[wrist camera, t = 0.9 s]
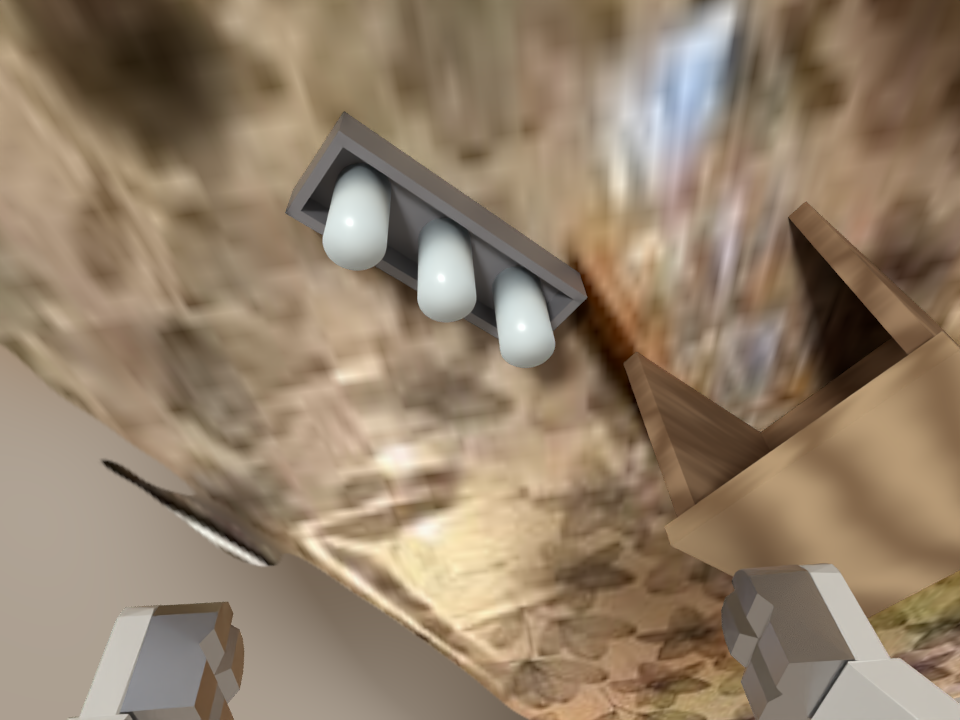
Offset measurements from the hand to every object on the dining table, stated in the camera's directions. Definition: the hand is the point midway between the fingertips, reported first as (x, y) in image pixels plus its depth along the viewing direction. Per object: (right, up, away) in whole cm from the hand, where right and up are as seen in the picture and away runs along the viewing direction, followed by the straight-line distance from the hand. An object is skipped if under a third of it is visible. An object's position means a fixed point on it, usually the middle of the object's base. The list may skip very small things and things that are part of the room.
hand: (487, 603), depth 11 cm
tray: (-3, +13, +37) cm, 39 cm away
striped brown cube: (+24, +5, +45) cm, 51 cm away
